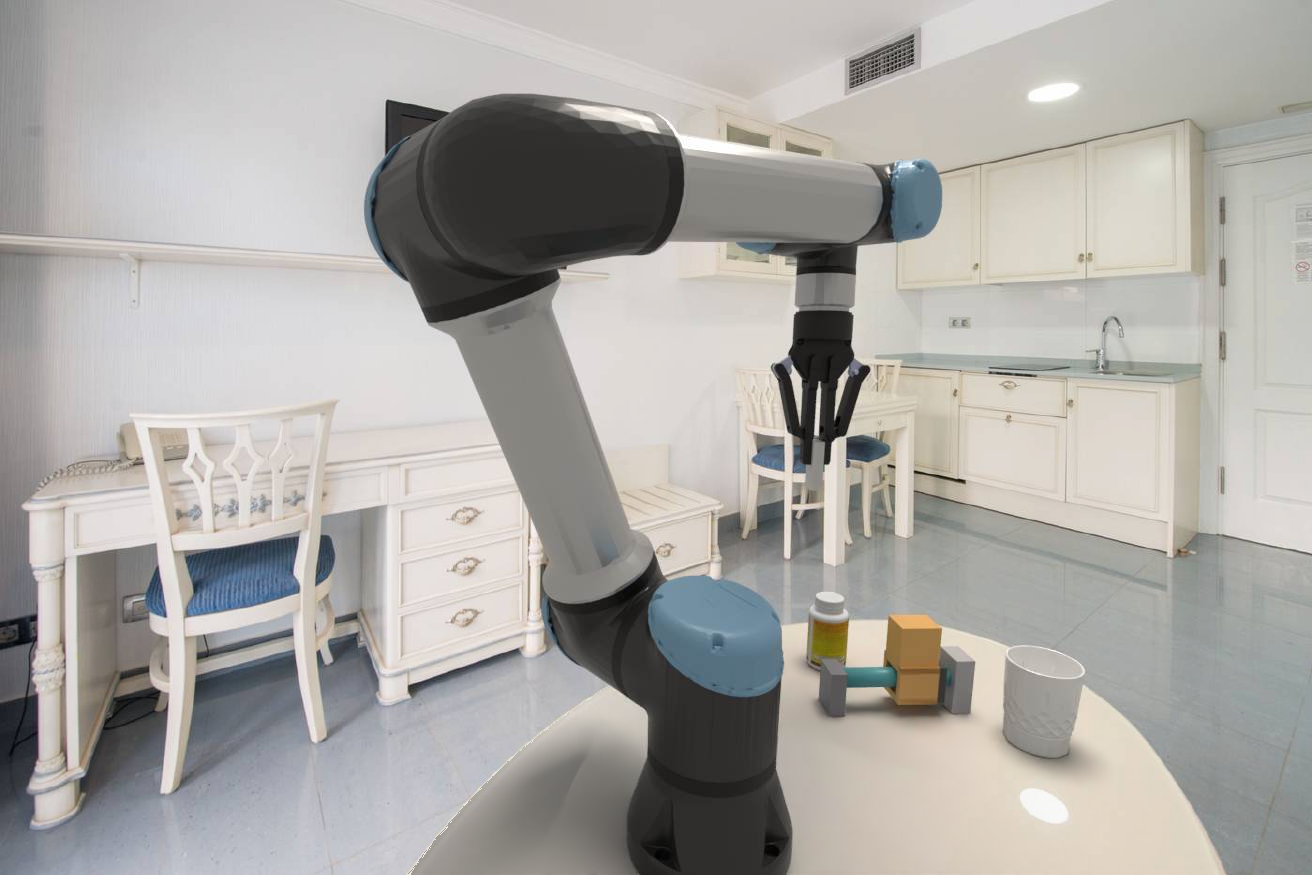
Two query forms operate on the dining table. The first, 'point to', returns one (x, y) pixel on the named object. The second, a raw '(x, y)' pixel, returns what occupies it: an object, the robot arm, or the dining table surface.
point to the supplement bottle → (827, 630)
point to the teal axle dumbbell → (950, 691)
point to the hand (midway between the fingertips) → (813, 488)
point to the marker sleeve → (913, 658)
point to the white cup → (1041, 699)
